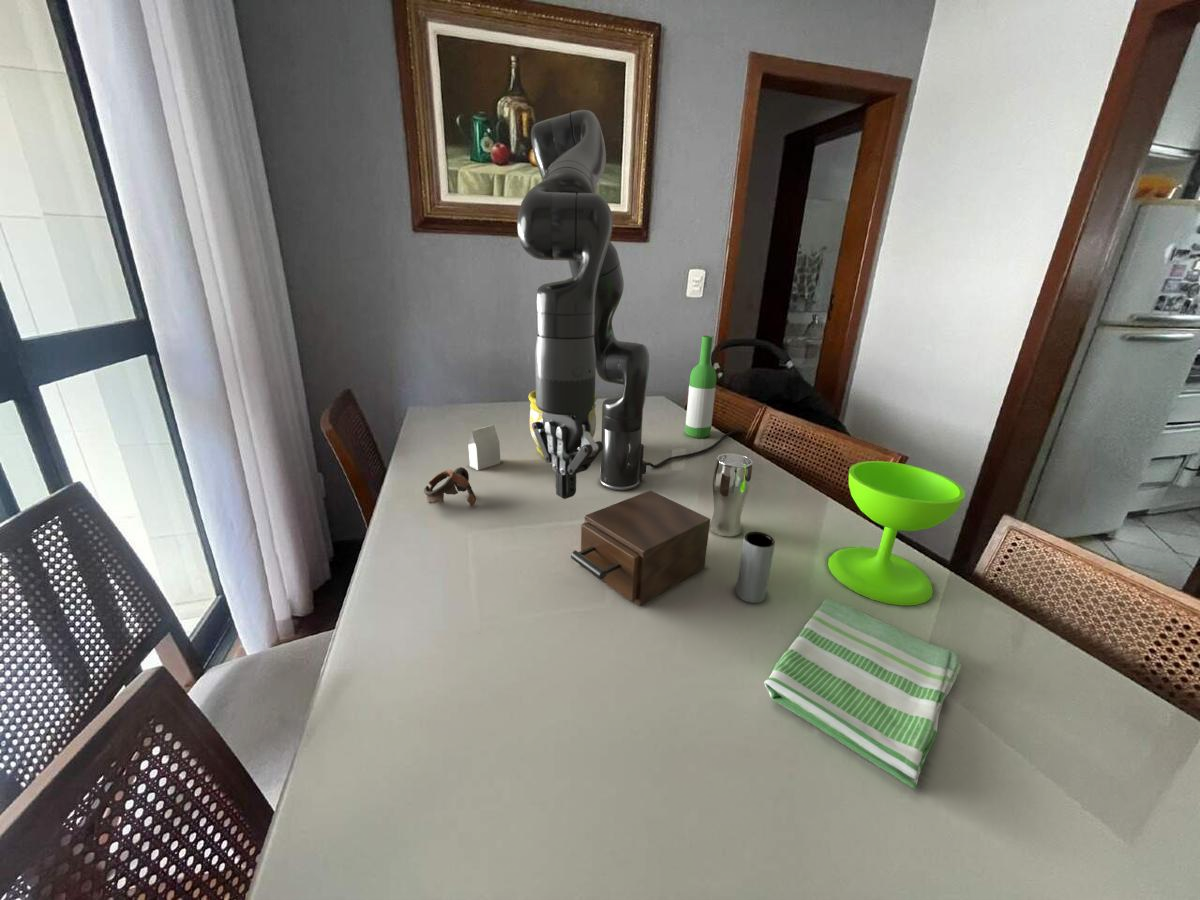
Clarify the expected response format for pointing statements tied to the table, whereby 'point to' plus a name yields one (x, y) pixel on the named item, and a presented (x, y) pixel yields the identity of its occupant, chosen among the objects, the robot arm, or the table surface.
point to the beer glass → (730, 493)
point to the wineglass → (894, 528)
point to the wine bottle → (701, 394)
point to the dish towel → (867, 686)
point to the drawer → (609, 561)
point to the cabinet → (657, 539)
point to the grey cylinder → (755, 566)
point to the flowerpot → (537, 416)
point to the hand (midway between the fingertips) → (565, 495)
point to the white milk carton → (484, 447)
